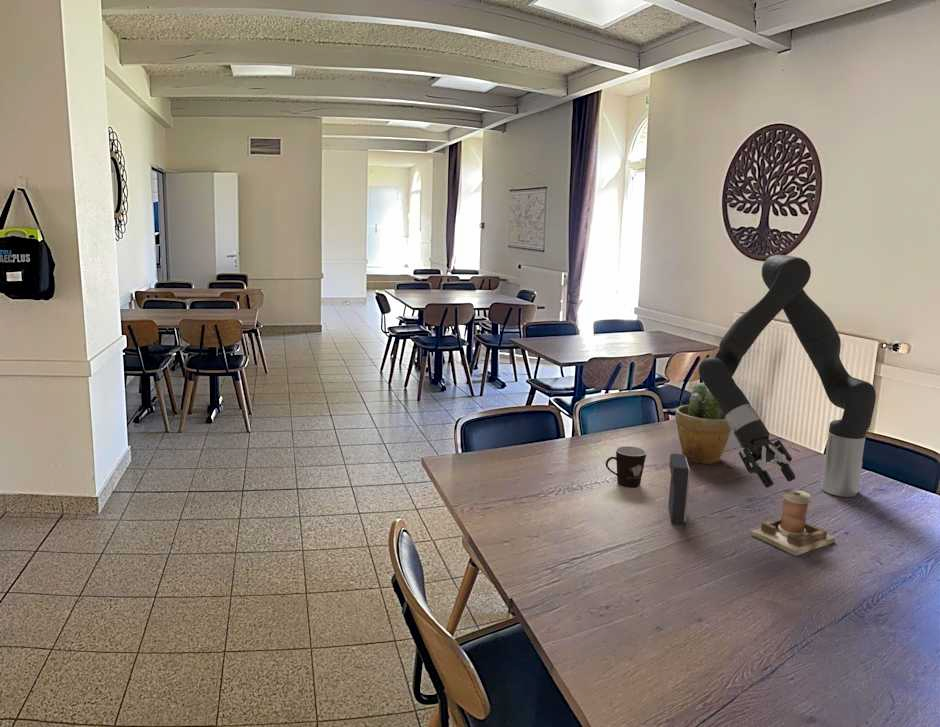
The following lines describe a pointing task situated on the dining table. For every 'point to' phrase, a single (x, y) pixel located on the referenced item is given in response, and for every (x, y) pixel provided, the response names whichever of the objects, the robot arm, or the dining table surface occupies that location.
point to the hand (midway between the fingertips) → (781, 483)
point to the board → (793, 537)
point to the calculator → (678, 488)
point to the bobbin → (794, 512)
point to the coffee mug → (629, 465)
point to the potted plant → (702, 427)
